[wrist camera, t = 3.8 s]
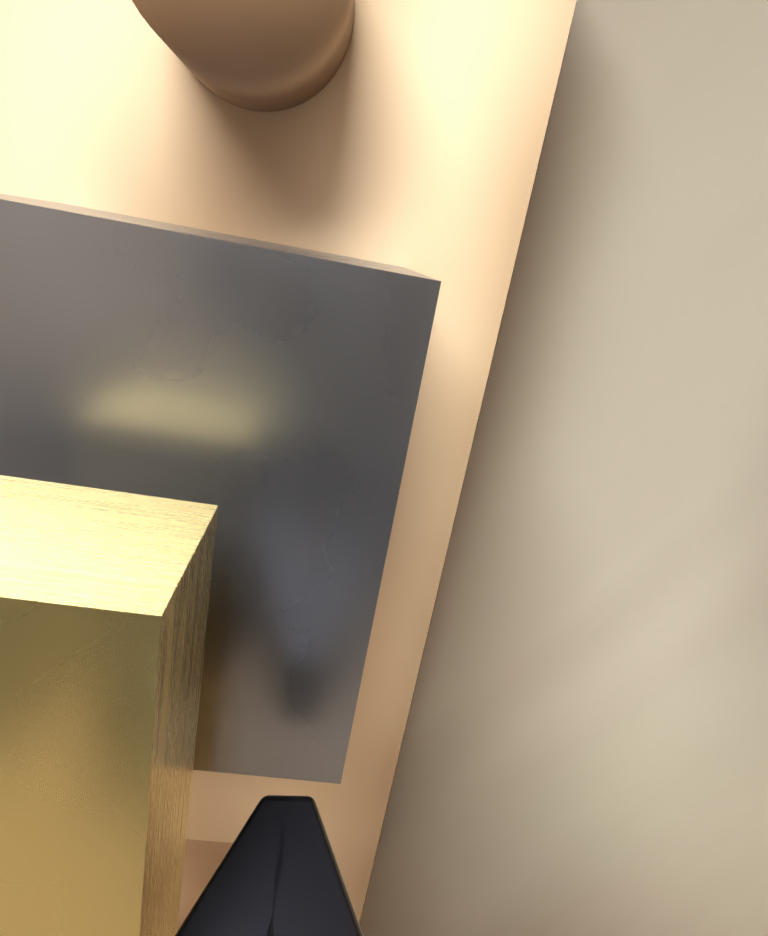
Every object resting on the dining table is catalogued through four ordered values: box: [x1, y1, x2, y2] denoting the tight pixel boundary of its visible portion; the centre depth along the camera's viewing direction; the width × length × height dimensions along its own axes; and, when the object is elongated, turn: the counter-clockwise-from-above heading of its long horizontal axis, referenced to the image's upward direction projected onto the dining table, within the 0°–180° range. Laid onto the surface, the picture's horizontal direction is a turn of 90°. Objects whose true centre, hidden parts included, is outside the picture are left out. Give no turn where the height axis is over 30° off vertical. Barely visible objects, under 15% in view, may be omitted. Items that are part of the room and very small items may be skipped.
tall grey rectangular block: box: [0, 194, 441, 784], centre depth 10 cm, size 6×7×5 cm
